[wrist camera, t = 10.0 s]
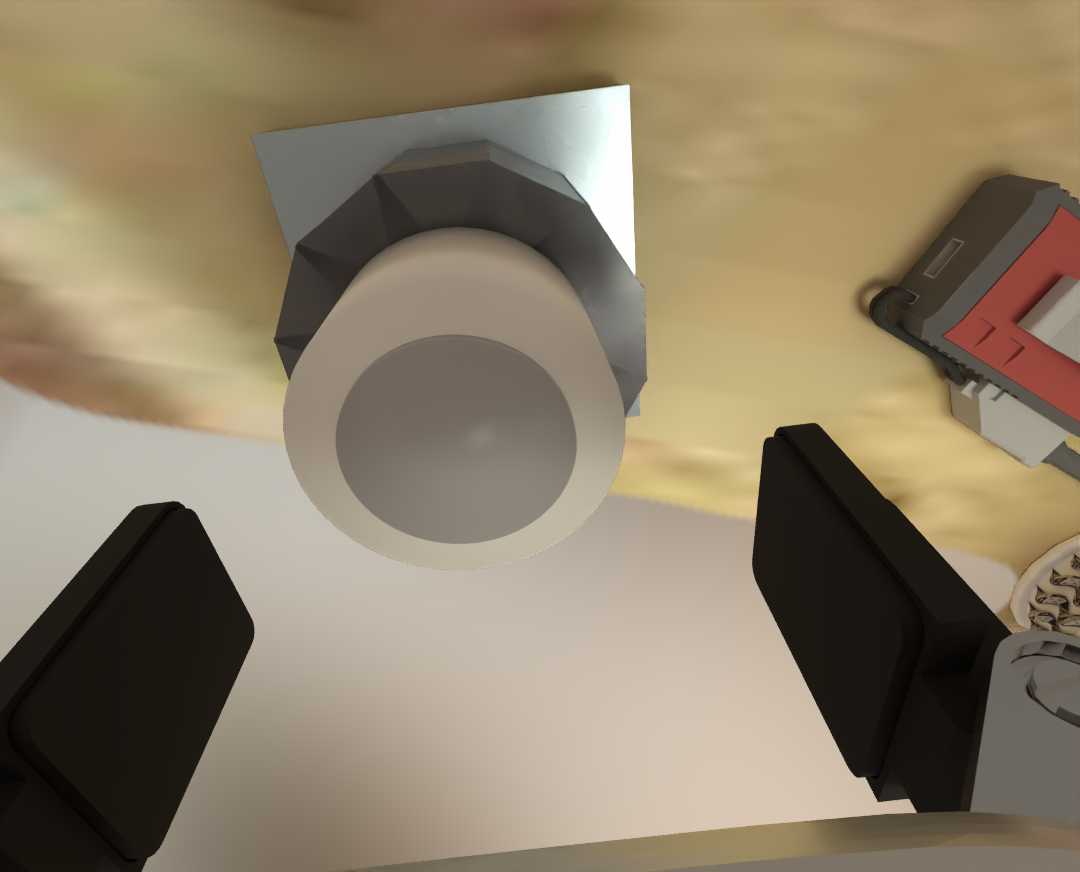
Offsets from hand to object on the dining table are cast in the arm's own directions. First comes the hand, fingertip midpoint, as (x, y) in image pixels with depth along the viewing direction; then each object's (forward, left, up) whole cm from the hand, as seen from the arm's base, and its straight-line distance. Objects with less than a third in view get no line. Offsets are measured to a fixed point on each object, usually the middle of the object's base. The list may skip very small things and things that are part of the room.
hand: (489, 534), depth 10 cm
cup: (+1, 0, -11) cm, 11 cm away
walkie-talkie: (-24, +7, -16) cm, 30 cm away
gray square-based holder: (+1, 0, -15) cm, 15 cm away
